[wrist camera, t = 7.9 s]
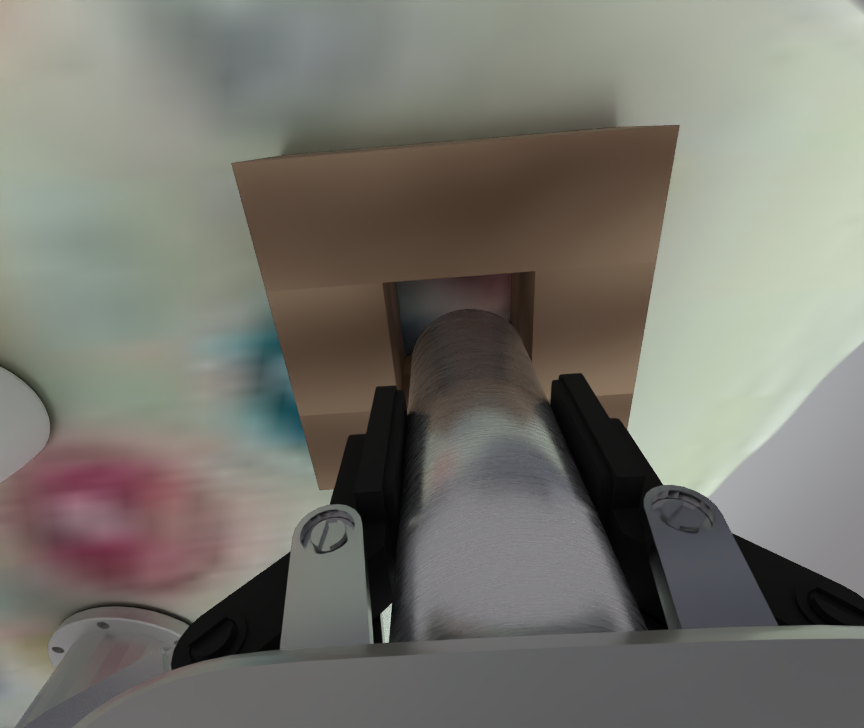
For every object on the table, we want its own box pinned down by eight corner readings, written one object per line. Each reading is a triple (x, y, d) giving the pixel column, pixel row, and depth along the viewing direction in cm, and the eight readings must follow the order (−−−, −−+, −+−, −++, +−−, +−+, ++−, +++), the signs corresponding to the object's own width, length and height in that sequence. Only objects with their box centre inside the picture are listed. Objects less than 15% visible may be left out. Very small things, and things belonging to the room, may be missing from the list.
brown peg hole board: (584, 409, 24) (619, 471, 20) (338, 426, 25) (319, 490, 20) (616, 126, 18) (679, 125, 13) (279, 155, 18) (231, 163, 14)
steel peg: (523, 405, 16) (700, 928, 6) (417, 412, 16) (392, 936, 6) (526, 304, 14) (807, 814, 4) (406, 313, 14) (338, 829, 4)
